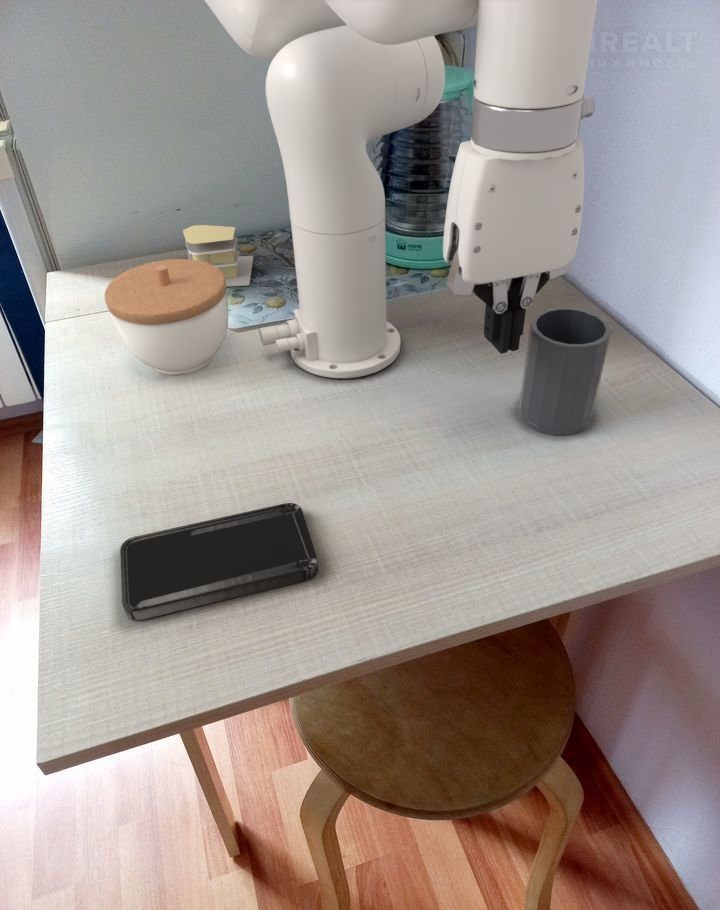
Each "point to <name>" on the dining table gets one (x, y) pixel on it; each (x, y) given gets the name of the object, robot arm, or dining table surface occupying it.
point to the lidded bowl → (170, 313)
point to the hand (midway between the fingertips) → (501, 344)
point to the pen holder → (563, 369)
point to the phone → (215, 560)
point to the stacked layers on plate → (219, 252)
